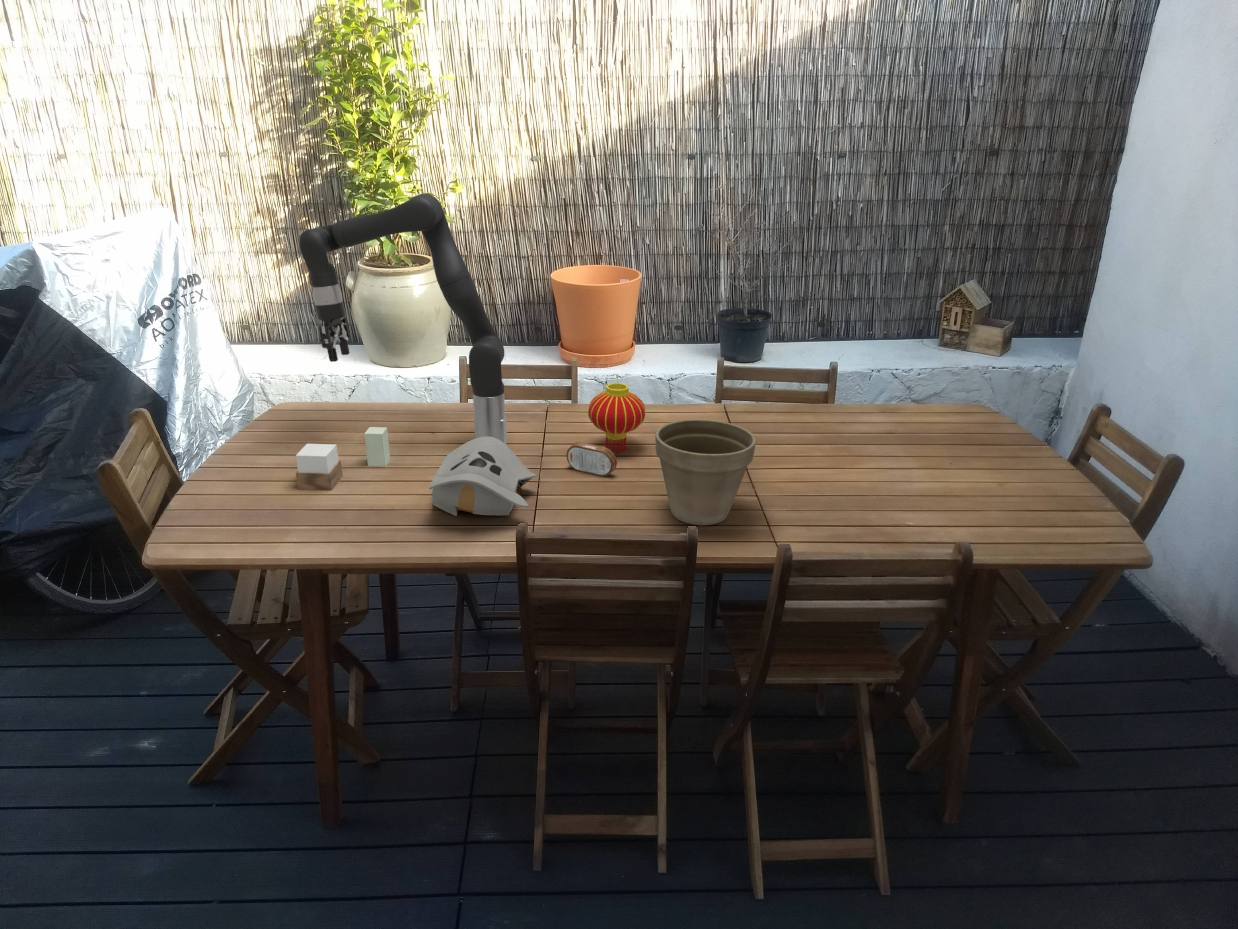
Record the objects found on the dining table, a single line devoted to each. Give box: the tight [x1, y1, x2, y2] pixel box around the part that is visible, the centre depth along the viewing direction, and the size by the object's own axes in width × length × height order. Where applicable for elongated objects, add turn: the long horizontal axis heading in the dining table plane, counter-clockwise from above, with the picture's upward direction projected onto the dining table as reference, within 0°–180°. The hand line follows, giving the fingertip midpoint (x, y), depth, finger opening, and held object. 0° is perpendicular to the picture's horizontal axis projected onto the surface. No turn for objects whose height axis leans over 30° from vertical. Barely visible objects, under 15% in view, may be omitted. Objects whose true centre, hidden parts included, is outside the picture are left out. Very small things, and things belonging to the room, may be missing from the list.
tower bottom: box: [295, 460, 344, 491], centre depth 216 cm, size 9×9×5 cm
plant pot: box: [654, 418, 757, 526], centre depth 202 cm, size 25×25×22 cm
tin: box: [565, 441, 618, 477], centre depth 226 cm, size 15×3×8 cm, turn 65°
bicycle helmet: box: [428, 437, 539, 517], centre depth 205 cm, size 28×26×16 cm
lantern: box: [587, 353, 646, 454], centre depth 237 cm, size 17×17×30 cm
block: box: [364, 426, 391, 468], centre depth 228 cm, size 5×5×10 cm
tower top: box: [295, 443, 340, 474], centre depth 214 cm, size 8×8×5 cm
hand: (340, 357), depth 232 cm, fingers open, 8 cm apart
